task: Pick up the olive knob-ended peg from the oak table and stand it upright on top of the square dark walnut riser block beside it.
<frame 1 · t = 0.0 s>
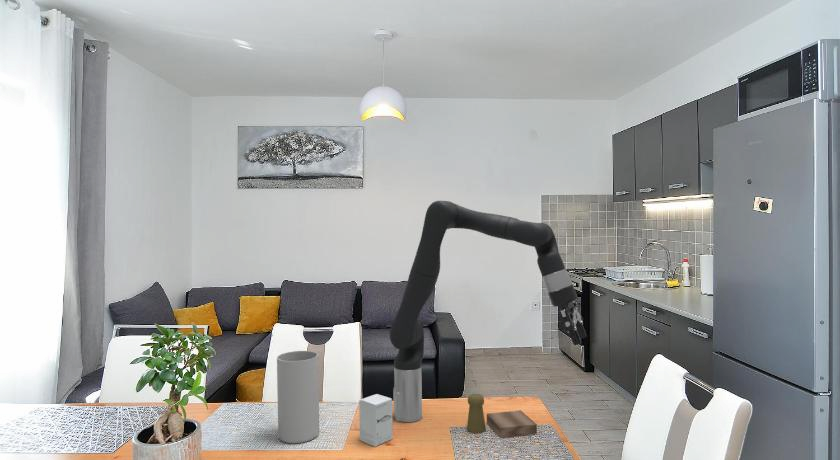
hand: (580, 341, 146), 31 cm above the table, tool tilted 20°, fingers open, 8 cm apart
supplement box: (376, 440, 155), on the table
walnut riser: (511, 428, 163), on the table
olive knob-ended peg: (476, 429, 162), on the table
cylinder vase: (299, 436, 159), on the table
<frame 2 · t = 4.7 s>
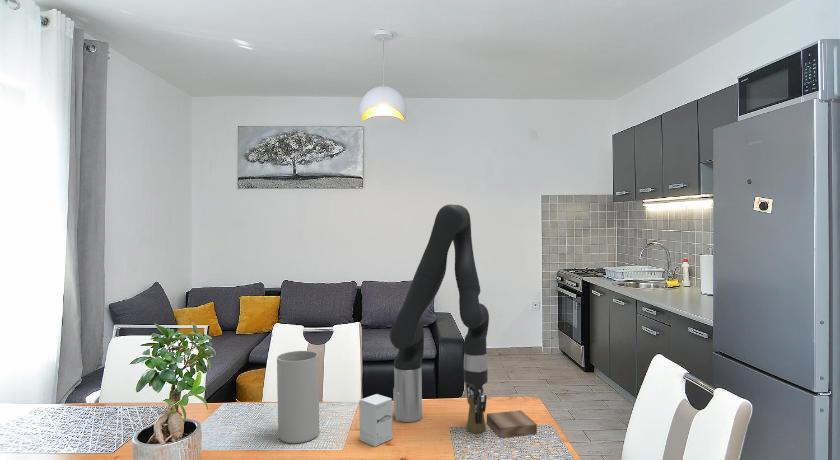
hand: (476, 420, 162), 3 cm above the table, tool pointing down, fingers closed on olive knob-ended peg, 4 cm apart
olive knob-ended peg: (476, 429, 162), on the table, touching gripper
everything else where it was.
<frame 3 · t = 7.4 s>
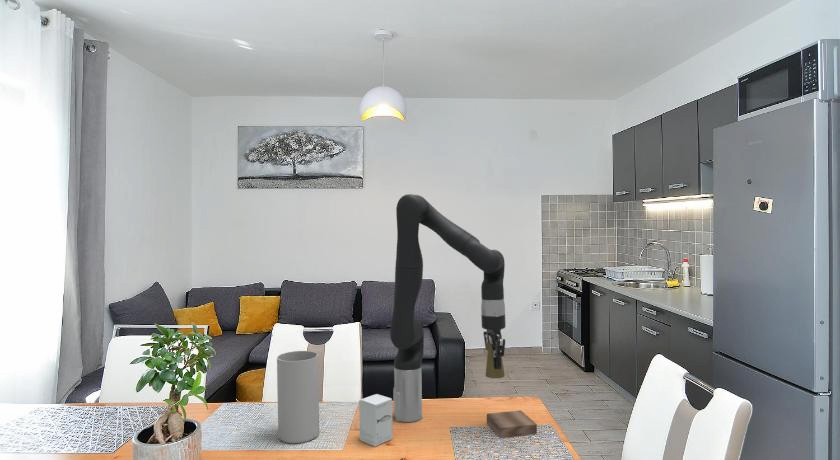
hand: (494, 366, 162), 20 cm above the table, tool pointing down, fingers closed on olive knob-ended peg, 4 cm apart
olive knob-ended peg: (495, 376, 162), point 17 cm above the table, touching gripper
everything else where it was.
when the fingers open (7 cm above the table, at t = 10.3 s): olive knob-ended peg stays where it is, resting on walnut riser.
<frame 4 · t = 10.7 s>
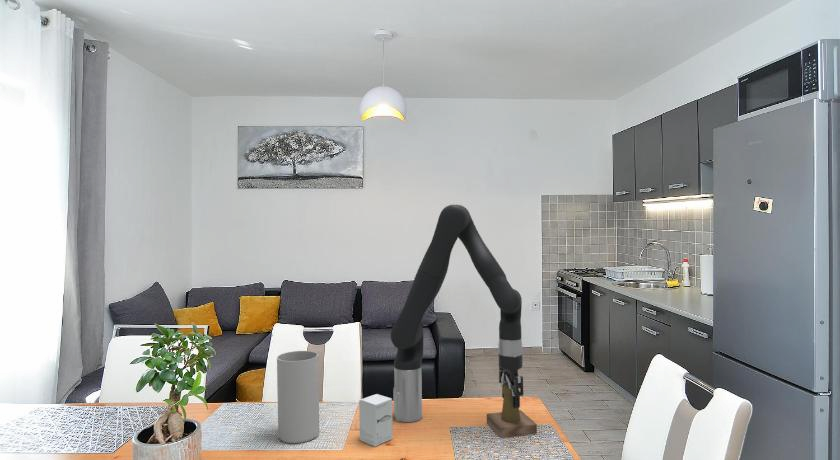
hand: (510, 402, 163), 8 cm above the table, tool pointing down, fingers open, 8 cm apart
olive knob-ended peg: (510, 419, 162), point 3 cm above the table, touching walnut riser
everything else where it was.
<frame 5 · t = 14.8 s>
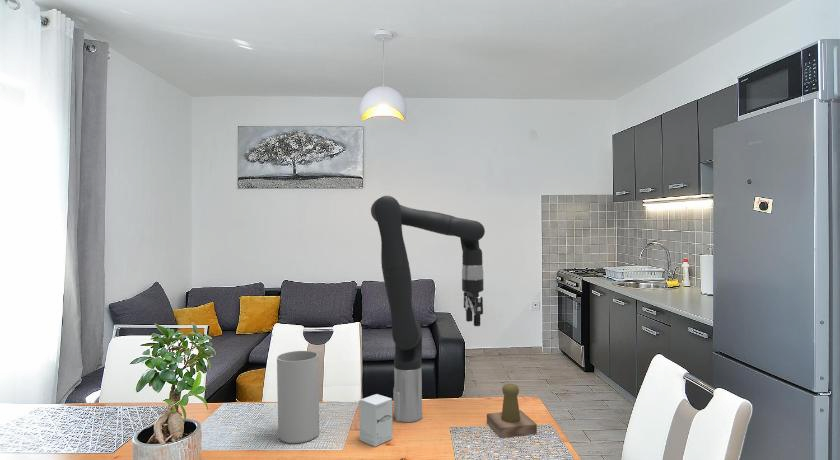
hand: (473, 323, 179), 30 cm above the table, tool pointing down, fingers open, 8 cm apart
nothing on the table moved.
at the end: olive knob-ended peg inside the target area on the walnut riser (0.1 cm from its centre), point 2.8 cm above the walnut riser's base; olive knob-ended peg tilted 0°; the gripper is holding nothing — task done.
